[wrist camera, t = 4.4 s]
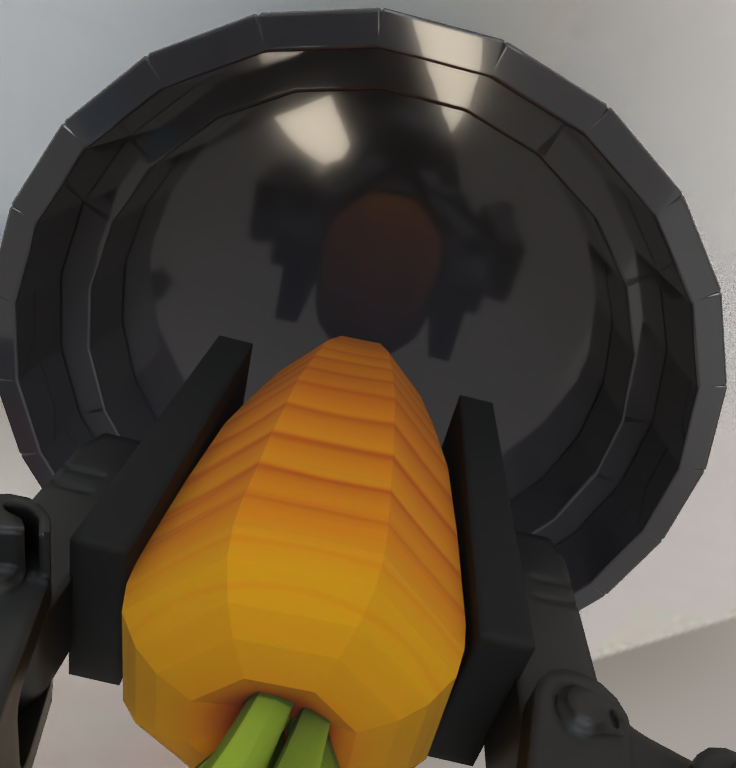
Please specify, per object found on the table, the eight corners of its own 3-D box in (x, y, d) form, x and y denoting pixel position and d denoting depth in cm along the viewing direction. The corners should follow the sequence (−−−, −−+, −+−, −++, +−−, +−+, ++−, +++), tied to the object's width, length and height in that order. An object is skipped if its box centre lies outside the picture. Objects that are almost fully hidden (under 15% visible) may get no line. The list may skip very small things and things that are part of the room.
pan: (86, -64, 14) (-37, -105, 10) (782, 121, 15) (902, 146, 11) (78, 498, 22) (5, 591, 18) (535, 607, 22) (556, 719, 18)
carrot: (485, 330, 17) (668, 1257, 4) (385, 454, 19) (289, 1322, 6) (329, 229, 16) (-102, 999, 3) (243, 370, 18) (-231, 1182, 5)
